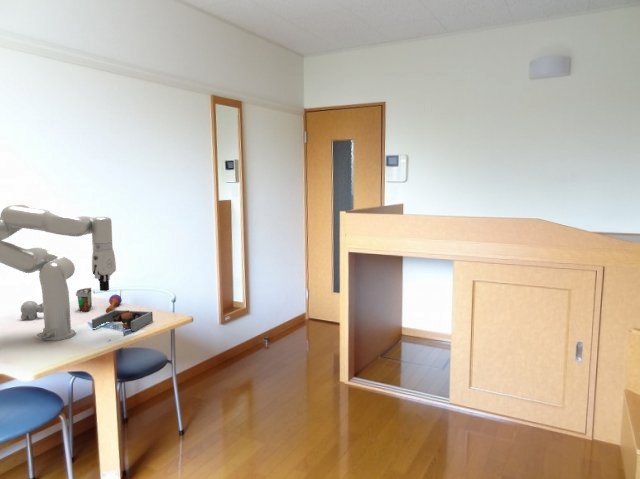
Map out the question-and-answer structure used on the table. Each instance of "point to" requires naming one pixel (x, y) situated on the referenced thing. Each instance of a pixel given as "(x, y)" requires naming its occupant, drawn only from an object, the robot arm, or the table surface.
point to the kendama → (113, 302)
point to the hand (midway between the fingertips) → (104, 290)
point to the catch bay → (135, 324)
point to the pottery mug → (126, 318)
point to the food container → (84, 299)
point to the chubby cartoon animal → (31, 310)
